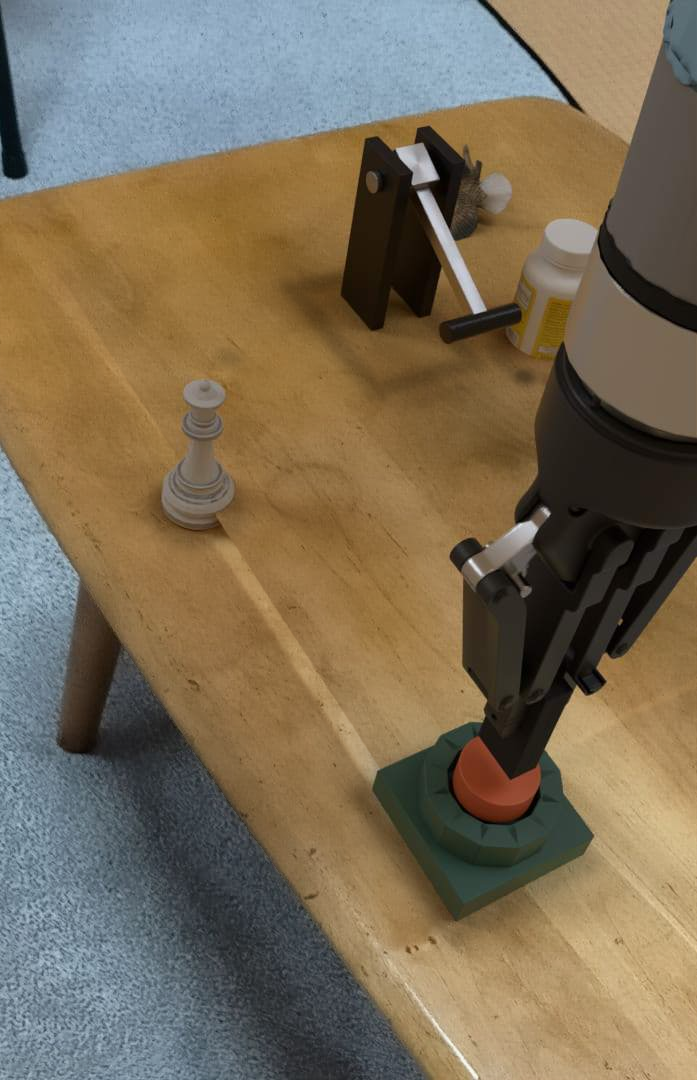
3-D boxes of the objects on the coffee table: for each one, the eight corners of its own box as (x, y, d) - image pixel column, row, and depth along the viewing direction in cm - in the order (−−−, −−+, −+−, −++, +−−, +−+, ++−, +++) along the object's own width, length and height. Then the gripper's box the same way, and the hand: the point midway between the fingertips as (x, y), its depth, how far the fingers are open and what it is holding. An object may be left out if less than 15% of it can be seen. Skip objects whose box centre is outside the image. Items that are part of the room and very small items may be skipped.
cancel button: (502, 739, 63) (510, 720, 61) (548, 803, 61) (557, 785, 59) (436, 770, 61) (443, 751, 60) (482, 836, 59) (489, 818, 58)
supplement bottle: (588, 350, 90) (628, 237, 83) (550, 385, 87) (589, 271, 80) (526, 315, 92) (560, 202, 84) (487, 348, 89) (519, 233, 81)
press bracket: (473, 357, 88) (519, 189, 78) (378, 385, 84) (412, 214, 74) (386, 259, 94) (417, 92, 84) (294, 282, 91) (315, 111, 80)
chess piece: (156, 480, 76) (159, 356, 69) (227, 475, 77) (238, 352, 70) (166, 534, 73) (170, 410, 66) (239, 528, 74) (251, 406, 67)
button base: (496, 732, 67) (513, 691, 64) (584, 854, 63) (607, 816, 60) (370, 790, 64) (382, 749, 61) (455, 922, 60) (472, 885, 57)
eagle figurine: (433, 169, 101) (357, 183, 95) (493, 123, 96) (415, 135, 90) (472, 254, 101) (398, 274, 95) (534, 213, 96) (459, 231, 90)
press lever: (511, 331, 81) (528, 314, 79) (442, 351, 78) (457, 334, 76) (429, 158, 83) (444, 137, 81) (359, 173, 80) (372, 152, 78)
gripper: (586, 508, 36) (434, 875, 54) (888, 394, 41) (660, 761, 59) (446, 349, 40) (348, 740, 57) (739, 265, 45) (567, 645, 63)
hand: (506, 751), depth 58 cm, fingers closed
